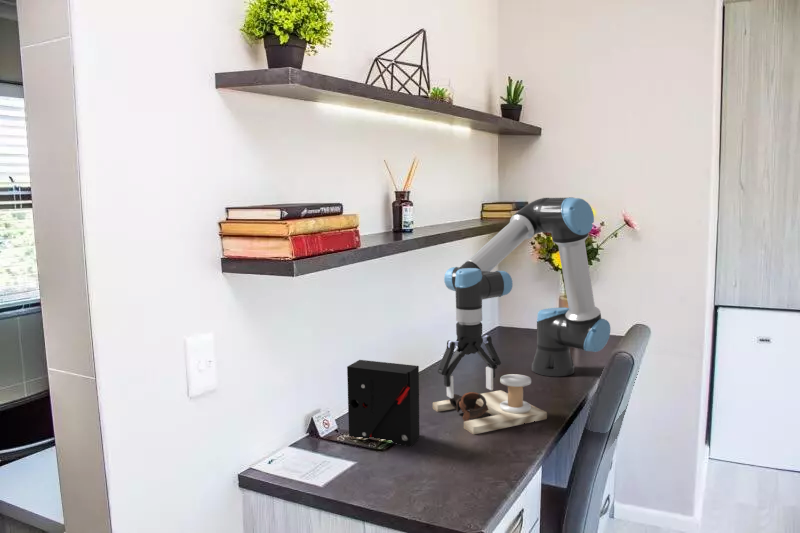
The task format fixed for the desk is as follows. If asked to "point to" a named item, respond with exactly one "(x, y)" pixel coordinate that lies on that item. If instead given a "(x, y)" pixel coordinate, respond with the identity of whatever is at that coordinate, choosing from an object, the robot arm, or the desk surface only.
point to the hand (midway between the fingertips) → (470, 393)
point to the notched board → (494, 414)
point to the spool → (515, 393)
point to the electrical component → (383, 401)
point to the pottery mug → (469, 405)
